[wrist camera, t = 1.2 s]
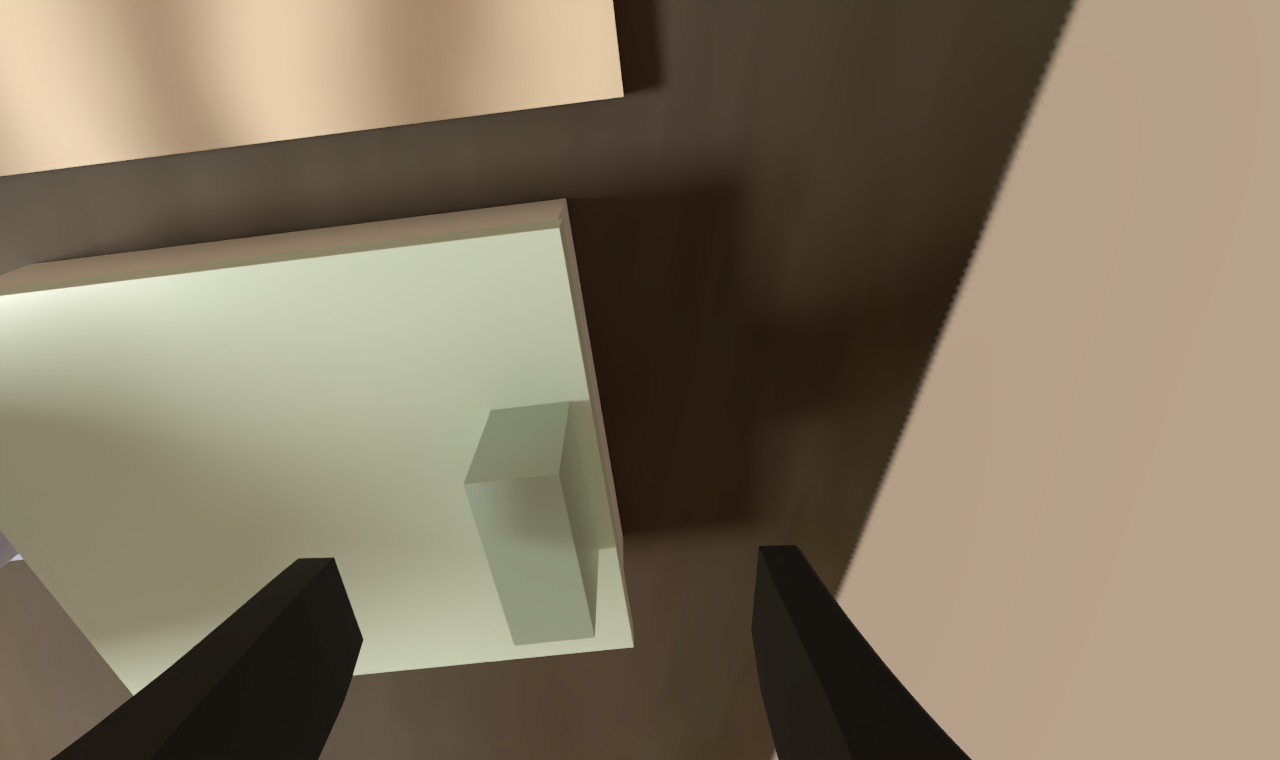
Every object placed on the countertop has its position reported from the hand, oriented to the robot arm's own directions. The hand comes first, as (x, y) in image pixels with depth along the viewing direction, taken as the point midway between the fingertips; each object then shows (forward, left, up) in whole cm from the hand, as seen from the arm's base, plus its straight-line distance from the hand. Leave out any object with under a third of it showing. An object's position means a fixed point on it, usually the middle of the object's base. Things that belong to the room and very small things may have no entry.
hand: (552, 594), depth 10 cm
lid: (-8, -2, -6) cm, 10 cm away
